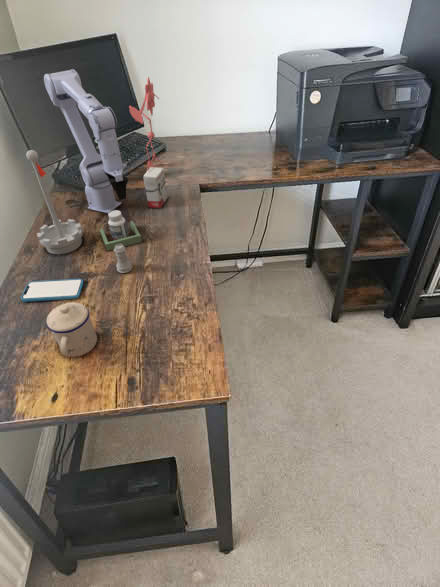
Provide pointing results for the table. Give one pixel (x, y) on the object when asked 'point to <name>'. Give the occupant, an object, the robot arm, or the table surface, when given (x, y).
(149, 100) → the figurine
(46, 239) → the flag stand
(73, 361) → the table surface
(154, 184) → the ink box
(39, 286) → the smartphone
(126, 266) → the rook chess piece
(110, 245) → the holder
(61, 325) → the teacup with lid
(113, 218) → the pill bottle
